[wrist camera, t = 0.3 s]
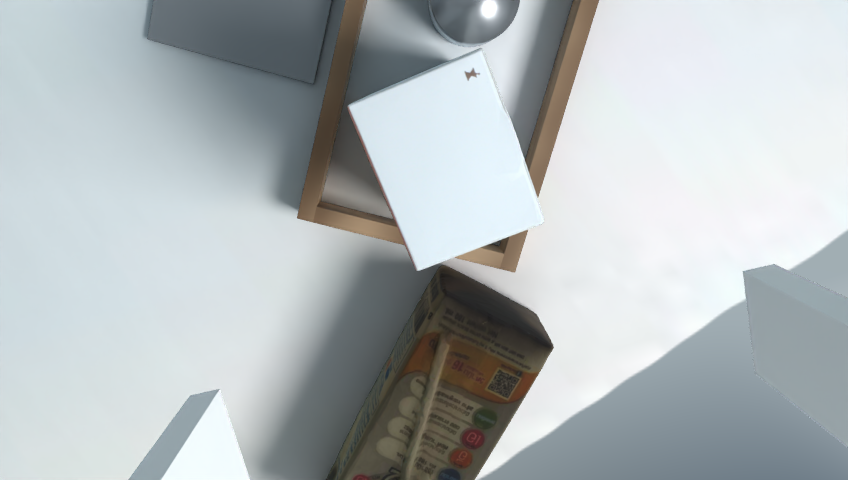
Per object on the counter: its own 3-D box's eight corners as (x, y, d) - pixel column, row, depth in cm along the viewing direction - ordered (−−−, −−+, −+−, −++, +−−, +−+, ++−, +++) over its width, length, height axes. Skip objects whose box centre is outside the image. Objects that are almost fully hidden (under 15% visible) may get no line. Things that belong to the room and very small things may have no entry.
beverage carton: (313, 484, 44) (298, 550, 38) (437, 255, 41) (444, 284, 35) (411, 526, 46) (413, 597, 39) (540, 307, 42) (566, 344, 36)
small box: (362, 99, 38) (342, 102, 25) (457, 60, 38) (485, 42, 25) (411, 218, 40) (416, 275, 27) (502, 181, 40) (550, 222, 27)
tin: (419, 34, 38) (420, 29, 35) (440, -52, 36) (444, -64, 34) (497, 56, 38) (505, 53, 35) (521, -28, 37) (531, -38, 34)
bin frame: (301, 212, 40) (296, 218, 38) (376, -120, 35) (375, -133, 33) (509, 264, 41) (514, 272, 39) (605, -50, 37) (616, -58, 35)
